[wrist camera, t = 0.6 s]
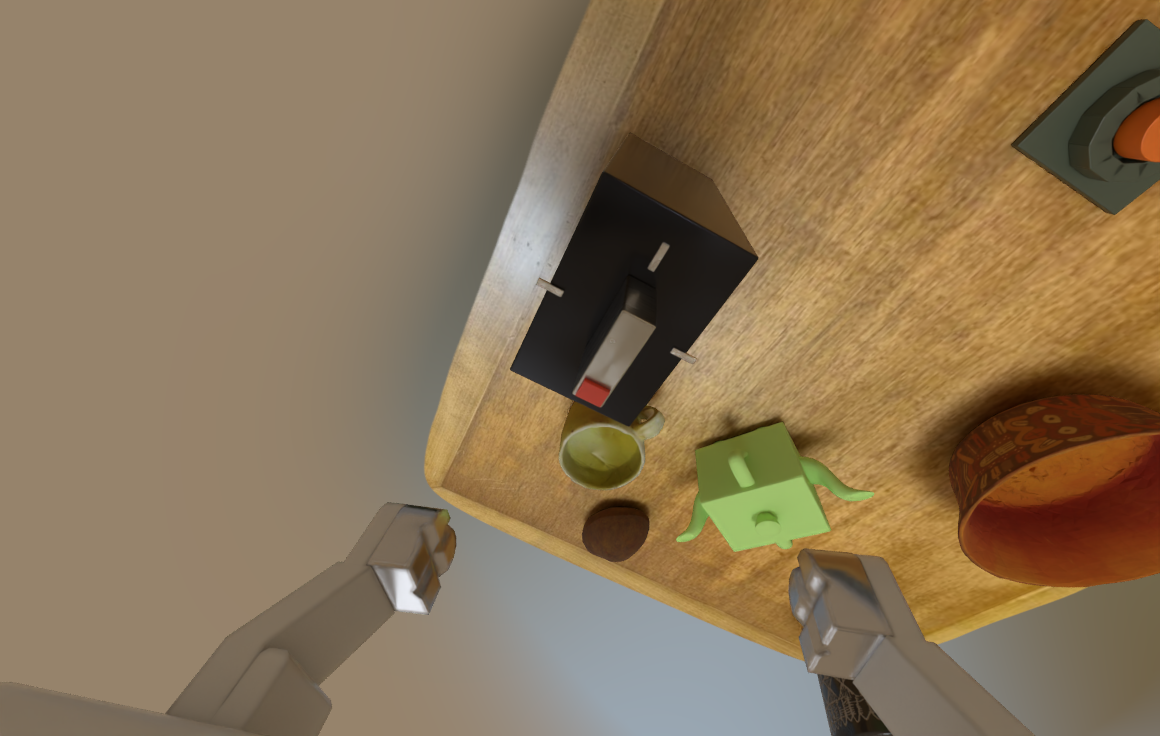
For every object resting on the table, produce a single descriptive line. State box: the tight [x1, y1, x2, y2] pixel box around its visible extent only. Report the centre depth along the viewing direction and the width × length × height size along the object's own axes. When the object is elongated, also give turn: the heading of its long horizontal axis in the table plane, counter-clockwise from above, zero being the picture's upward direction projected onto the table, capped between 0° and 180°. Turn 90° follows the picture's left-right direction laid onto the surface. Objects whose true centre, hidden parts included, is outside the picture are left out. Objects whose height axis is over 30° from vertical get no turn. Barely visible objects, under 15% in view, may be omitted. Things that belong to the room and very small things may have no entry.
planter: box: [817, 674, 893, 736], centre depth 57 cm, size 13×13×18 cm
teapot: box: [676, 422, 874, 552], centre depth 47 cm, size 15×13×11 cm
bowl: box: [949, 394, 1160, 587], centre depth 40 cm, size 21×21×10 cm
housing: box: [1012, 19, 1160, 215], centre depth 29 cm, size 10×8×2 cm
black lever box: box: [510, 133, 758, 427], centre depth 30 cm, size 12×9×20 cm
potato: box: [582, 507, 649, 562], centre depth 58 cm, size 7×10×7 cm
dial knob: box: [572, 276, 657, 407], centre depth 20 cm, size 5×2×4 cm, turn 154°
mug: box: [559, 401, 665, 490], centre depth 48 cm, size 12×10×10 cm
